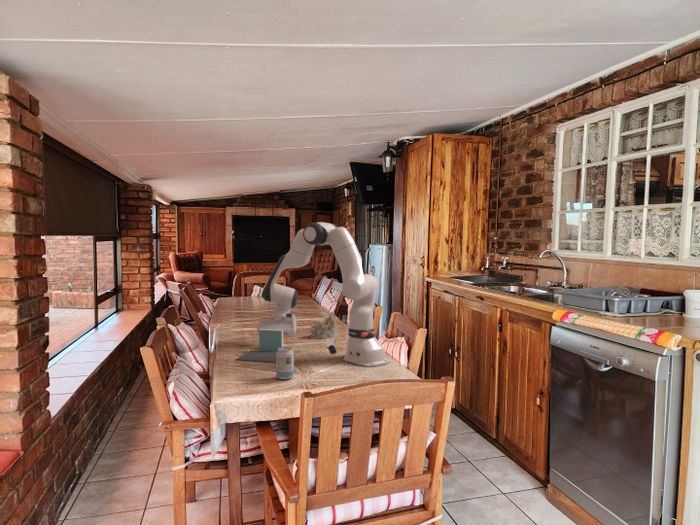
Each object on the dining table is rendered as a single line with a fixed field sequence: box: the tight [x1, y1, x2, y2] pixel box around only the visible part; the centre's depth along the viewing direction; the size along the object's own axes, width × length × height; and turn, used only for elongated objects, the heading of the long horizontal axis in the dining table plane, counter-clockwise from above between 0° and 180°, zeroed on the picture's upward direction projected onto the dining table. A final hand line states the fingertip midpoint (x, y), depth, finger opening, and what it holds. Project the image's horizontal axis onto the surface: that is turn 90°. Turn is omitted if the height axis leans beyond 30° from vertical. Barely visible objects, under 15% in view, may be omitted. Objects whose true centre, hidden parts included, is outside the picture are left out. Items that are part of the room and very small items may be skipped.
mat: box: [235, 349, 277, 364], centre depth 208 cm, size 16×20×1 cm
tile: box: [258, 329, 284, 352], centre depth 217 cm, size 2×12×11 cm, turn 79°
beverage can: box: [275, 346, 295, 381], centre depth 177 cm, size 7×7×12 cm
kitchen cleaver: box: [325, 338, 338, 355], centre depth 229 cm, size 31×2×10 cm
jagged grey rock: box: [310, 311, 339, 340], centre depth 252 cm, size 16×16×15 cm
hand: (273, 340), depth 220 cm, fingers closed
